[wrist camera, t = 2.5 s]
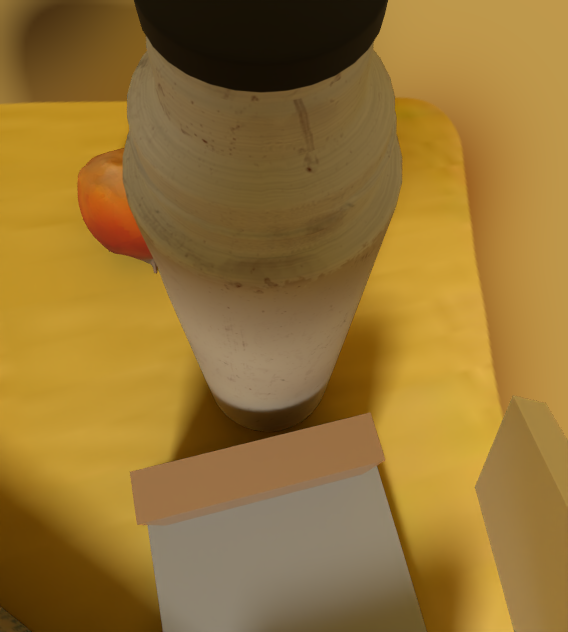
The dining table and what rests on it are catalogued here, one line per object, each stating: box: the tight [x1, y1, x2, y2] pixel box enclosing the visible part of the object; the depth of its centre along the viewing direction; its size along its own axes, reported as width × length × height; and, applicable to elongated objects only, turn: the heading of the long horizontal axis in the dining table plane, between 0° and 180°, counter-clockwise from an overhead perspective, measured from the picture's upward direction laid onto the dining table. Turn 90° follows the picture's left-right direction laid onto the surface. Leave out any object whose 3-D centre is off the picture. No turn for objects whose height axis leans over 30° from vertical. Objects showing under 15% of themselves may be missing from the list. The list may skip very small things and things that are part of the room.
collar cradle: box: [130, 412, 427, 632], centre depth 27 cm, size 17×14×8 cm
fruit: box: [78, 148, 157, 273], centre depth 37 cm, size 8×8×8 cm
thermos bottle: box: [123, 0, 402, 432], centre depth 23 cm, size 8×8×28 cm
